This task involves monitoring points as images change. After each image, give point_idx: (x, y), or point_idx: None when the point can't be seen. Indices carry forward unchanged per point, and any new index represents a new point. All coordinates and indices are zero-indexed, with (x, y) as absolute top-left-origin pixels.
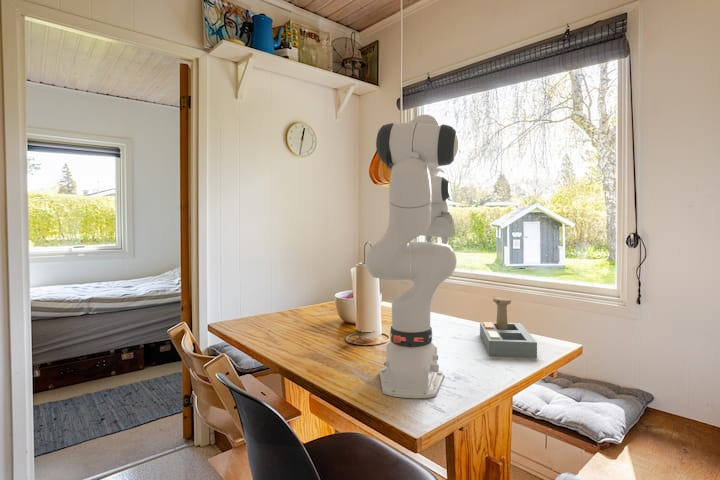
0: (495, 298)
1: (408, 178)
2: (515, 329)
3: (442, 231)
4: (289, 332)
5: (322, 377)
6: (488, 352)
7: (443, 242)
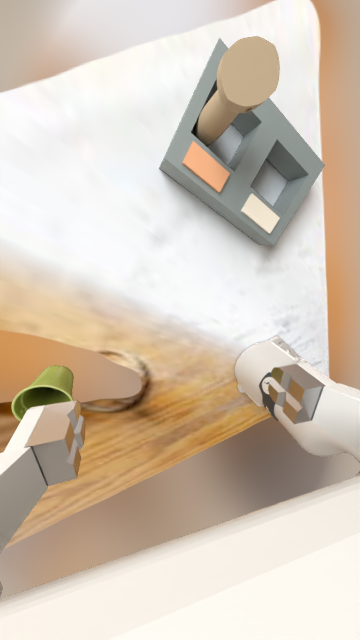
0: (234, 93)
1: None
2: None
3: None
4: None
5: (222, 433)
6: (257, 242)
7: (355, 427)
